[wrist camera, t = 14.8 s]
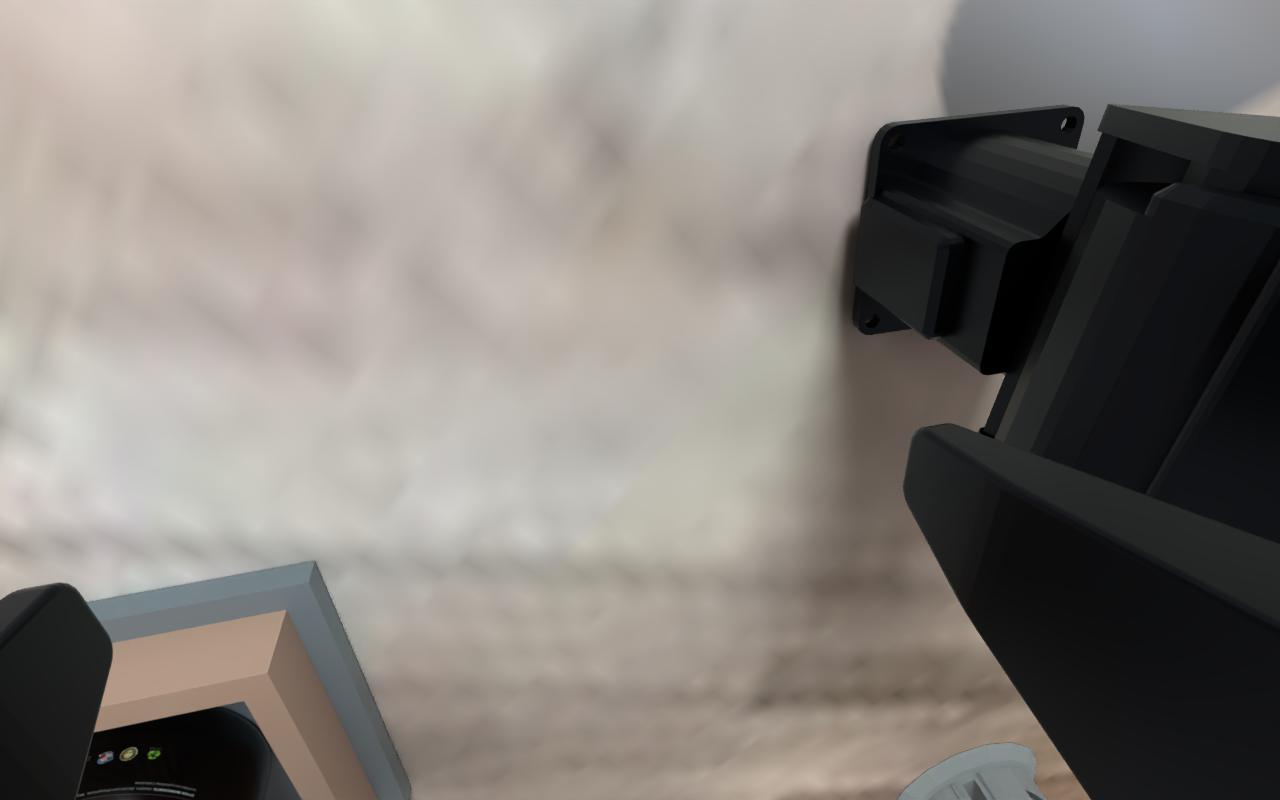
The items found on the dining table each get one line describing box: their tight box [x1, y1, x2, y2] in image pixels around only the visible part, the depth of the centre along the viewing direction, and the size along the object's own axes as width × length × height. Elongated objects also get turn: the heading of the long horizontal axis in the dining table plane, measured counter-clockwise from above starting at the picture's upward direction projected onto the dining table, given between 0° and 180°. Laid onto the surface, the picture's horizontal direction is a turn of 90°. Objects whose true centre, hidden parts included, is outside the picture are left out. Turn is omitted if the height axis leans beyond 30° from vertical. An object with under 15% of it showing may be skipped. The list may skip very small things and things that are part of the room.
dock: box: [86, 561, 411, 800], centre depth 24 cm, size 14×14×4 cm
